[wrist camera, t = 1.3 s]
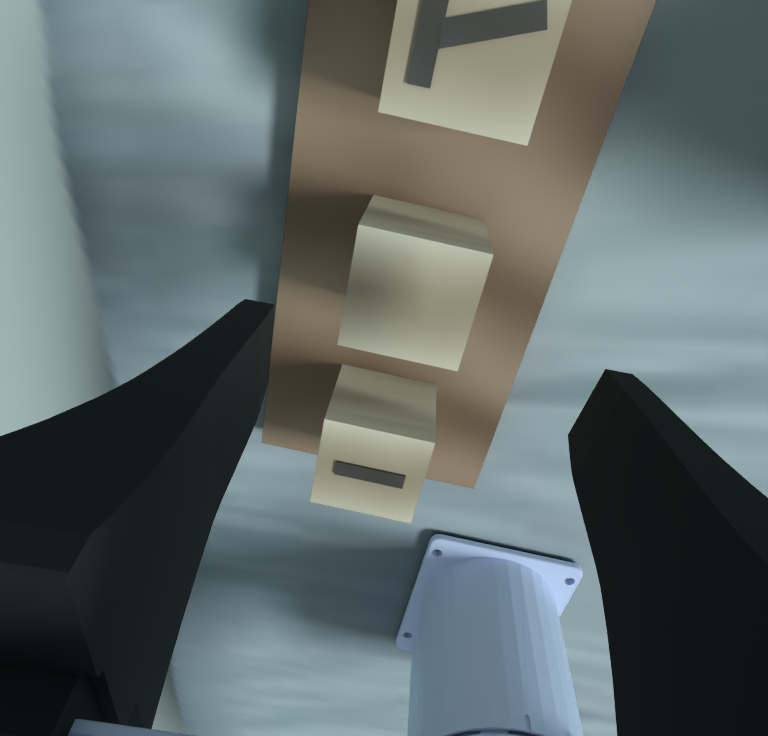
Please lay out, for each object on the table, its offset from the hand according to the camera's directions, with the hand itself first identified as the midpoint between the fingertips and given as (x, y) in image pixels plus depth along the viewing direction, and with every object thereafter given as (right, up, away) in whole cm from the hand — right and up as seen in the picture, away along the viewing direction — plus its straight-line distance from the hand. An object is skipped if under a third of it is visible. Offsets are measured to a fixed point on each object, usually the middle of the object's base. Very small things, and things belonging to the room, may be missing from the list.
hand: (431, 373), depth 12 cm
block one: (-1, -2, +12) cm, 12 cm away
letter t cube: (+1, +10, +5) cm, 11 cm away
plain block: (0, +4, +8) cm, 9 cm away
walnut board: (0, +5, +9) cm, 10 cm away
